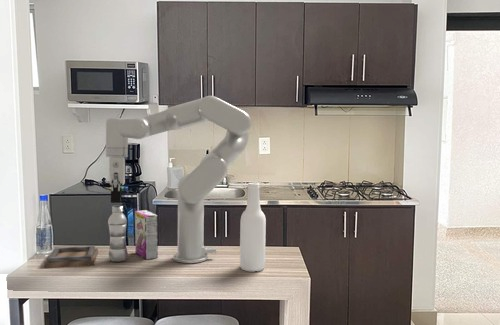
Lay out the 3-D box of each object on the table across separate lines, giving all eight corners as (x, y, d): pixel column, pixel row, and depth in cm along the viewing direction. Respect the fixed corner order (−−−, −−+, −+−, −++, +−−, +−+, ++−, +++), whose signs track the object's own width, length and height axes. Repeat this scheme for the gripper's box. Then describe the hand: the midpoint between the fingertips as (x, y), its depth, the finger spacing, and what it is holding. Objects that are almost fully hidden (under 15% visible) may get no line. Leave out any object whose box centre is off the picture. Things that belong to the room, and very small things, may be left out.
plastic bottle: (122, 264, 163) (122, 208, 161) (105, 262, 164) (104, 207, 162) (130, 258, 169) (130, 205, 167) (113, 257, 170) (113, 204, 169)
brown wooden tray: (97, 252, 176) (97, 244, 176) (93, 265, 161) (93, 256, 160) (53, 254, 173) (53, 246, 172) (44, 267, 157) (44, 259, 157)
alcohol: (263, 273, 156) (265, 185, 153) (237, 271, 157) (239, 184, 154) (266, 265, 164) (267, 182, 162) (241, 263, 166) (243, 181, 163)
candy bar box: (134, 252, 177) (134, 210, 175) (146, 251, 180) (146, 209, 178) (145, 260, 168) (145, 216, 166) (158, 258, 170) (158, 214, 169)
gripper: (127, 154, 156) (126, 204, 157) (128, 151, 172) (127, 196, 174) (103, 154, 154) (103, 204, 155) (107, 150, 171) (107, 196, 172)
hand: (116, 200), depth 165 cm, fingers open, 9 cm apart
